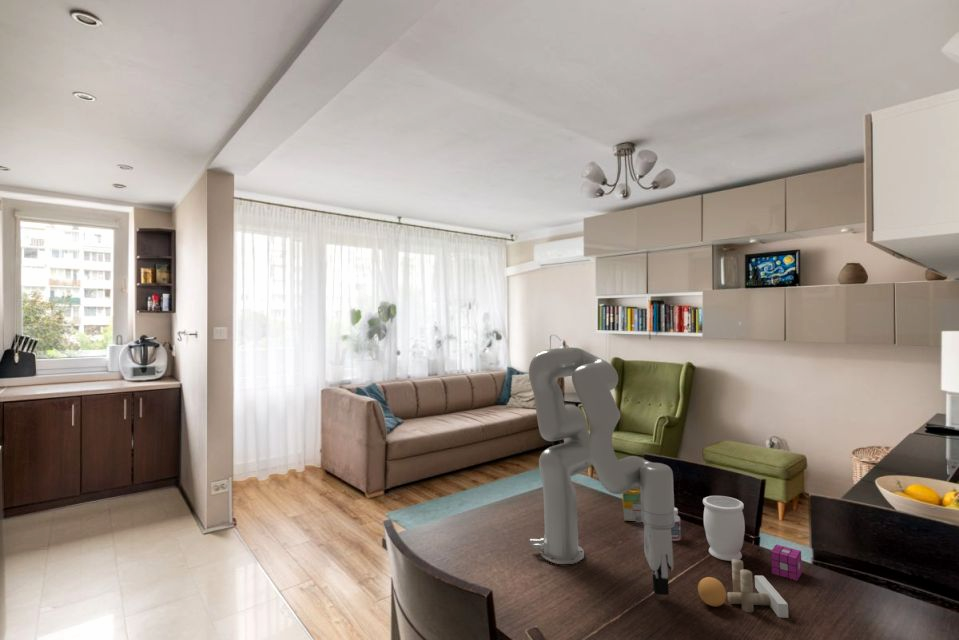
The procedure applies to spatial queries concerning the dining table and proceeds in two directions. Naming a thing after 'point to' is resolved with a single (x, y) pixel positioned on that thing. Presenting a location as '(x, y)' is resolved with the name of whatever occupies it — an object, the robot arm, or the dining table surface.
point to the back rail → (772, 596)
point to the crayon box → (632, 505)
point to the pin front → (757, 598)
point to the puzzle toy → (786, 562)
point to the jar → (724, 526)
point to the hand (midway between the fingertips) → (660, 592)
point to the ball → (712, 591)
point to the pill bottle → (676, 527)
